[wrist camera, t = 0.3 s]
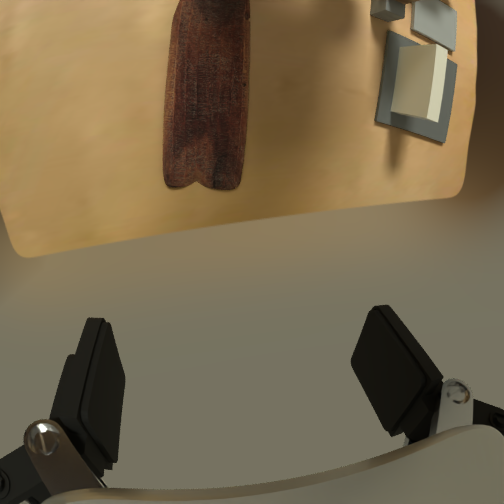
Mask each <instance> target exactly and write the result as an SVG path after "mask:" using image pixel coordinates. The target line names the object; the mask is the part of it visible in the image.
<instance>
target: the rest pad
mask: <svg viewBox="0 0 504 504" xmlns="http://www.w3.org/2000/svg"><path fill="white" fill-rule="evenodd" d="M456 28H457V11H455V10H454V9H452V8H451V7H449V6H448V5H446V4H444V3H443V2H441V1H440V0H419V1H415V2H412V15H411V28H410V29H411V30H413V31H415V32H417V33H419V34H421V35H423V36H425V37H427V38H429V39H430V40H432V41H434V42H436V43H438V44H440V45H441V46H443V47H445V48H447V49H448V50H450V51H455V45H456Z"/></svg>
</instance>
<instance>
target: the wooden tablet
mask: <svg viewBox="0 0 504 504" xmlns="http://www.w3.org/2000/svg"><path fill="white" fill-rule="evenodd" d="M249 18H250V6H249V0H180V1H179V3H178V6H177V8H176V11H175V14H174V17H173V22H172V29H171V40H170V48H169V61H168V71H167V80H166V91H165V105H164V124H163V174H164V180H165V183H166V184H167V185H168V186H169V187H182V186H187V185H190V184H192V183H194V182H195V181H197V182H198V183H200V184H202V185H204V186H206V187H209V188H214V189H220V190H231V189H235V187H237V186H238V185H239V183H240V179H241V174H242V167H243V161H244V151H245V142H246V129H247V113H248V86H249V42H250V22H249Z"/></svg>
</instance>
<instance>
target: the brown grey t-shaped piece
mask: <svg viewBox="0 0 504 504" xmlns="http://www.w3.org/2000/svg"><path fill="white" fill-rule="evenodd" d="M415 1H419V0H371V11H370V15H372V16H374V17H377V18H379V19H382V20H384V21H387V22H391V21H395V20H399V19H403V18H404V17H405V4H408V3H412V2H415Z"/></svg>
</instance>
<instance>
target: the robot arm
mask: <svg viewBox="0 0 504 504" xmlns="http://www.w3.org/2000/svg"><path fill="white" fill-rule="evenodd" d="M351 366H352V368H353V370H354V372H355V374H356V376H357V378H358V380H359V382H360V383H361V385H362V387H363V389H364V391H365V393H366V395H367V397H368V399H369V401H370V402H371V405H372V406H373V408H374V410H375V412H376V414H377V416H378V418H379V420H380V422H381V424H382V426H383V428H384V429H385V430H386V431H388V432H389V434H390V436H391V437H393V436H396V435H398V434H401V433H402V432H404V433H405V435H406V437H405V441H404V445H403V447H402V448H399V449H397V450H394V451H391V452H388V453H386V454H383V455H380V456H377V457H374V458H371V459H367V460H364V461H361V462H358V463H355V464H351V465H347V466H343V467H340V468H336V469H332V470H328V471H324V472H320V473H315V474H311V475H306V476H301V477H296V478H291V479H286V480H280V481H274V482H267V483H260V484H253V485H244V486H234V487H223V488H207V489H174V490H171V489H170V490H168V489H167V490H165V489H160V490H159V489H125V488H109V487H108V486H107V485H106V483H105V482H104V481H103V480H102V478H101V477H103V476H104V469H108V470H112V465H113V463H117V461H118V449H119V435H120V425H121V424H120V423H121V415H122V405H123V397H124V389H125V374H124V370H123V367H122V364H121V360H120V357H119V353H118V350H117V346H116V343H115V339H114V335H113V331H112V327H111V324H110V323H109V322H106V321H105V319H104V318H88V319H87V321H86V324H85V326H84V329H83V332H82V335H81V338H80V341H79V344H78V347H77V350H76V353H75V355H74V354H70V355H69V356H68V357H67V359H66V362H65V365H64V369H63V372H62V375H61V378H60V382H59V385H58V388H57V392H56V395H55V399H54V403H53V407H52V410H51V414H50V418H49V419H40V420H37V421H34V422H33V423H32V424H30V425H29V426H28V428H27V429H26V430H25V433H24V441H23V442H24V445H22V446H21V447H19V448H18V449H16V450H14V451H13V452H11V453H9V454H8V455H6V456H5V457H3V458H1V459H0V504H504V410H503V409H500V408H498V407H495V406H492V405H489V404H486V403H484V402H481V401H478V400H475V399H473V393H472V390H471V388H470V387H469V386H468V385H467V384H466V383H465V382H463V381H462V380H459V379H455V378H453V379H448V380H447V381H445V382H444V383H443V382H442V379H443V375H442V374H441V372H440V371H439V370H438V368H437V367H436V366H435V364H434V363H433V362H432V360H431V359H430V357H429V356H428V355H427V353H426V352H425V351H424V349H423V348H422V347H421V345H420V344H419V343H418V342H417V340H416V339H415V338H414V336H413V335H412V334H411V333H410V331H409V330H408V329H407V327H406V326H405V325H404V324H403V322H402V321H401V320H400V318H399V317H398V316H397V314H396V313H395V312H394V311H393V309H392V308H391V307H390V306H389V305H379V306H374V307H373V308H372V310H370V311H369V313H368V315H367V318H366V321H365V324H364V326H363V329H362V332H361V335H360V337H359V340H358V343H357V345H356V348H355V350H354V353H353V355H352V358H351Z"/></svg>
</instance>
